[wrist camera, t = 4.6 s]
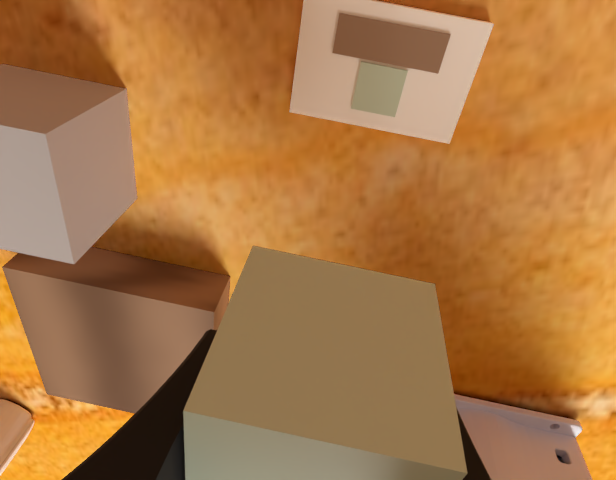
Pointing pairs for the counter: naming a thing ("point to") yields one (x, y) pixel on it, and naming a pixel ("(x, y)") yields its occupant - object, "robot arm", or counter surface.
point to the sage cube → (324, 379)
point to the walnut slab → (112, 322)
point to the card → (386, 66)
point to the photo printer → (12, 430)
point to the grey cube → (61, 162)
